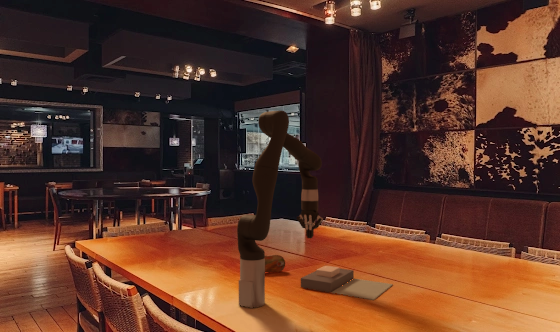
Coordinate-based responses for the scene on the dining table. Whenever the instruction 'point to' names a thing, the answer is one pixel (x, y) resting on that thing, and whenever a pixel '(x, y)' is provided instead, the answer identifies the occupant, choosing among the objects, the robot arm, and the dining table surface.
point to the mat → (363, 289)
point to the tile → (328, 271)
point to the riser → (327, 281)
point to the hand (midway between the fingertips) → (309, 238)
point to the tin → (274, 263)
